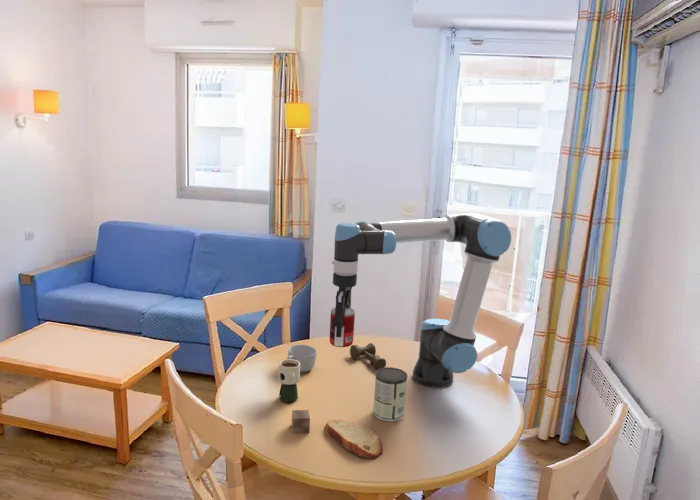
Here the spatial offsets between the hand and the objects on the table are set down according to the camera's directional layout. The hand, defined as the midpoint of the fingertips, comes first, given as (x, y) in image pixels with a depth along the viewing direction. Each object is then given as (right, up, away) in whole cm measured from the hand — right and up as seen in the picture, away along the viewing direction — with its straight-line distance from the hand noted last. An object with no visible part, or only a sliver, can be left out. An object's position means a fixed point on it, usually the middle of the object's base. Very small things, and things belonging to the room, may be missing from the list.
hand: (341, 340), depth 180 cm
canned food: (0, -1, 0) cm, 1 cm away
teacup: (-17, -16, +30) cm, 38 cm away
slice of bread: (+3, -28, -15) cm, 32 cm away
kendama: (+10, -15, +43) cm, 47 cm away
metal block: (-12, -25, -10) cm, 30 cm away
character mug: (-18, -21, +8) cm, 29 cm away
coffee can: (+15, -24, +2) cm, 29 cm away
